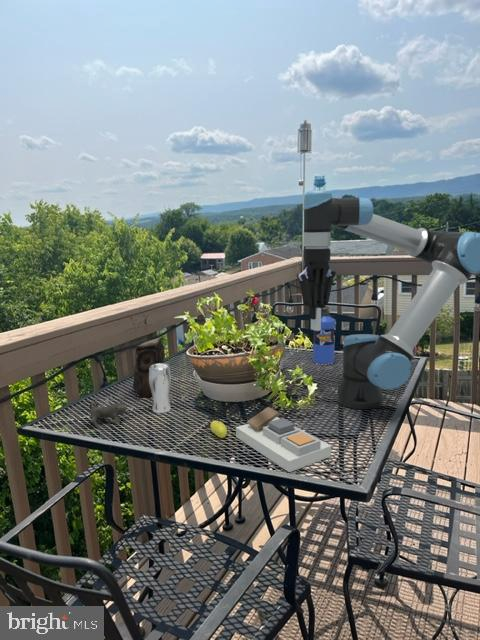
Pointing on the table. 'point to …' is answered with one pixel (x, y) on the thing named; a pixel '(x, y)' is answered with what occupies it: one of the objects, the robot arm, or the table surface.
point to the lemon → (218, 429)
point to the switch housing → (283, 446)
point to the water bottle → (324, 340)
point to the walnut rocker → (263, 418)
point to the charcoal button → (281, 426)
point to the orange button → (300, 439)
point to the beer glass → (160, 387)
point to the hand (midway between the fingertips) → (315, 329)
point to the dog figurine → (107, 413)
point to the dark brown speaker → (146, 365)
